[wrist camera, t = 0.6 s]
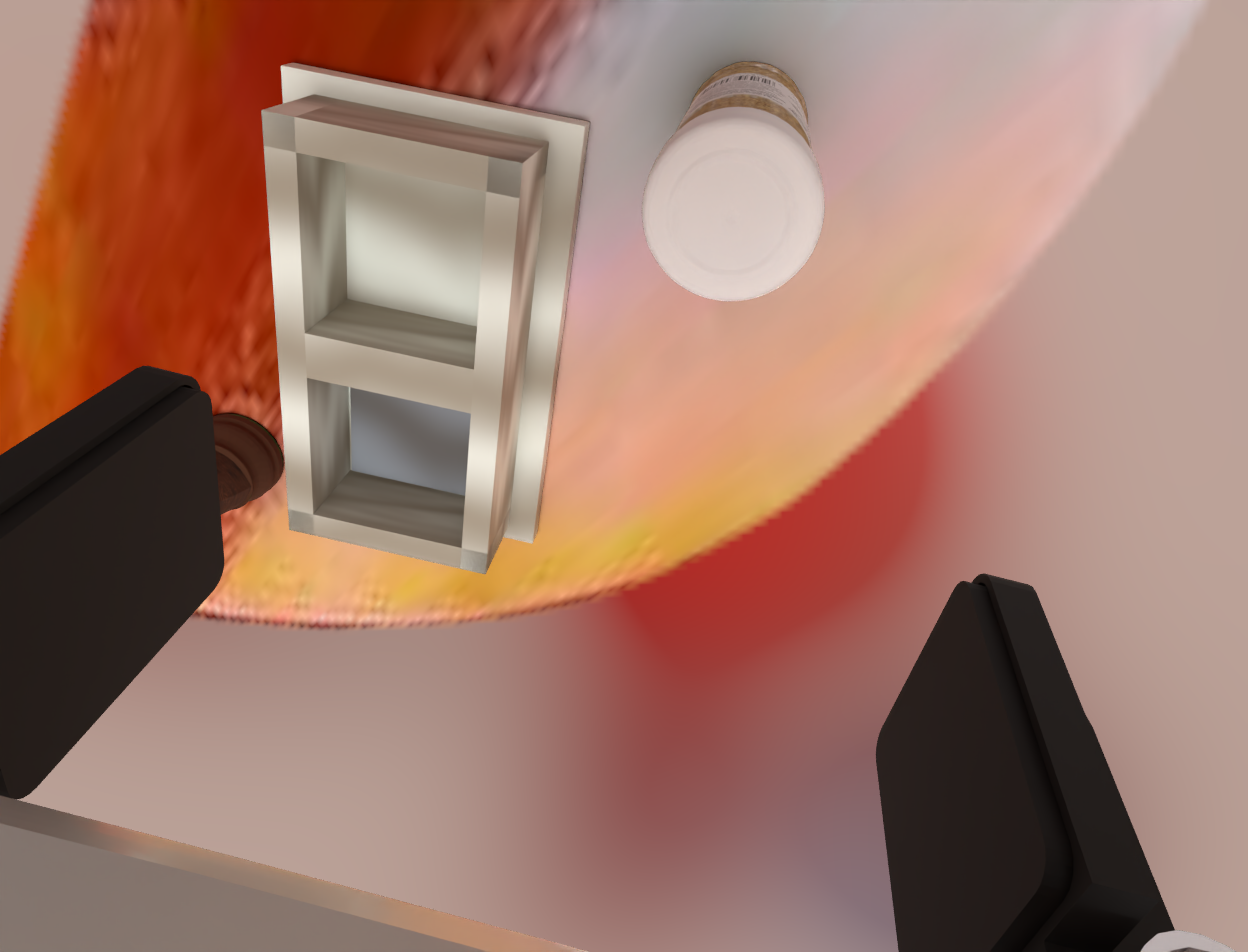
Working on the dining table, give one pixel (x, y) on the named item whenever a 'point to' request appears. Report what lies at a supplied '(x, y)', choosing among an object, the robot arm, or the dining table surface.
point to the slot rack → (417, 309)
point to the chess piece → (244, 460)
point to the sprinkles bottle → (736, 188)
